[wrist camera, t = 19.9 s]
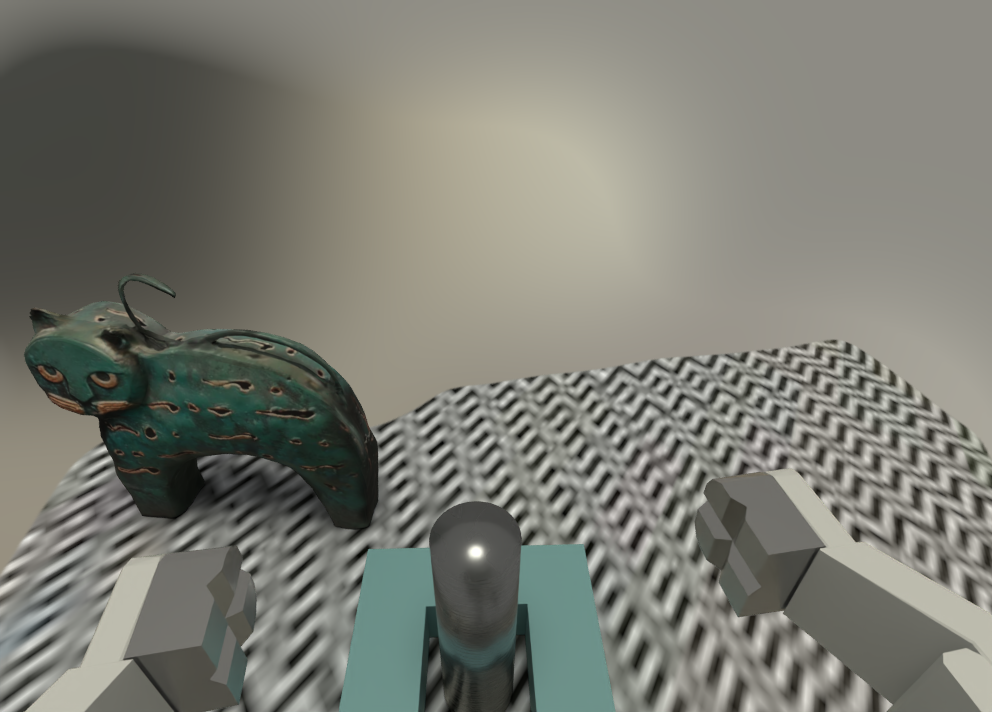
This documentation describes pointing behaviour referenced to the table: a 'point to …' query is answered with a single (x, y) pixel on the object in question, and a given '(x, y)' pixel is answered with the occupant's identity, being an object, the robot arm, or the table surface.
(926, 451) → the table surface
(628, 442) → the table surface
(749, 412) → the table surface
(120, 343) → the ceramic cat
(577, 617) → the socket block
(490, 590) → the steel pin
